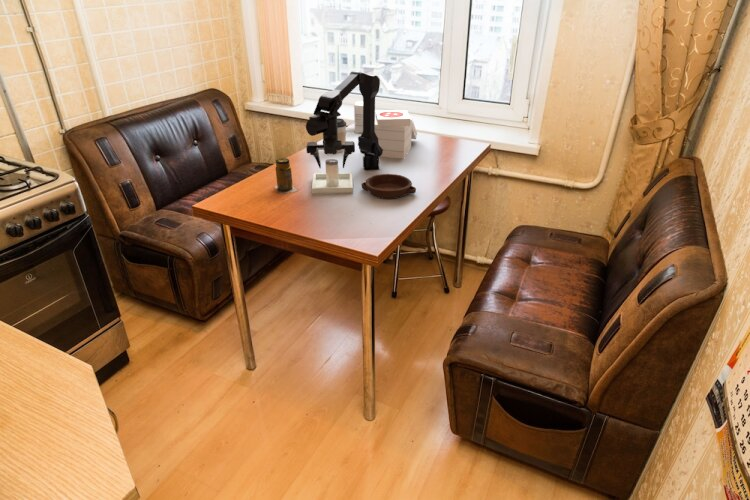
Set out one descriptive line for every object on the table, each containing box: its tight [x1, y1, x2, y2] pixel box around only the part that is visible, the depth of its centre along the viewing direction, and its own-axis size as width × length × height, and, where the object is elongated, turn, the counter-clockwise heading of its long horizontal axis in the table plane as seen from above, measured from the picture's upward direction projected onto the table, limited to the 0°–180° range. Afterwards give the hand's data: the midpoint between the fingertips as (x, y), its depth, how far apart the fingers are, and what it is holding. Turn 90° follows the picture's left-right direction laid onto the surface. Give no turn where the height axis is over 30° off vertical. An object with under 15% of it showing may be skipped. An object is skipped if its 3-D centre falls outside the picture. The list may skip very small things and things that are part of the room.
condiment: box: [273, 157, 298, 195], centre depth 190 cm, size 7×8×12 cm
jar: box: [324, 158, 339, 187], centre depth 193 cm, size 5×5×10 cm
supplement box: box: [353, 100, 363, 134], centre depth 257 cm, size 9×9×15 cm
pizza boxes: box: [375, 109, 418, 160], centre depth 232 cm, size 19×30×18 cm, turn 163°
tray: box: [311, 172, 354, 195], centre depth 195 cm, size 16×16×2 cm
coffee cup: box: [336, 118, 347, 154], centre depth 230 cm, size 9×9×15 cm
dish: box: [361, 173, 417, 200], centre depth 189 cm, size 17×22×5 cm
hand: (331, 167), depth 192 cm, fingers open, 9 cm apart
